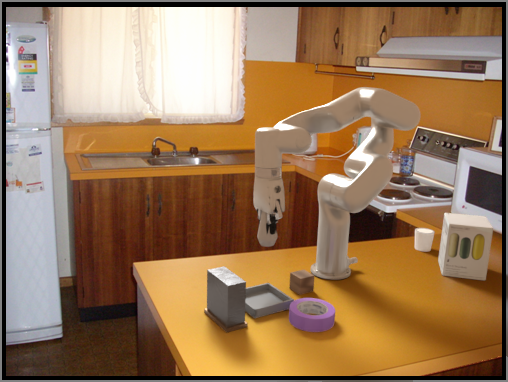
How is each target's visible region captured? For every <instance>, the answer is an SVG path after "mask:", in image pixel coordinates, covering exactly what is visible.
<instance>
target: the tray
mask: <svg viewBox="0 0 508 382" xmlns="http://www.w3.org/2000/svg"><path fill="white" fill-rule="evenodd" d="M294 300H295V299H294V298H292V297H291V296H289V295H288V294H287V293H285V292H284V291H282V290H281V289H279V288H278V287H276V286H274V285H273V284H272V283H270V282H265V283H261V284H258V285H253V286H248V287H246V300H245V313H247V314H248V315H249V316H251V317H252V318H253V319H257V318H261V317H265V316H269V315H272V314H276V313H279V312H282V311H286V310H287V311H288V310H289V308H290V304H291V303H292V302H293V301H294Z"/></svg>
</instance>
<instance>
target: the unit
mask: <svg viewBox="0 0 508 382" xmlns="http://www.w3.org/2000/svg"><path fill="white" fill-rule="evenodd" d="M206 274H207V275H206V285H207V286H206V308H204V309H203V311H204V313H205V314H206V315H207V316H208V317H209V318H210V319H211V320H213V322H214V323H216V325H217V326H218V327H220V328H221V329H222V330H223V331H224V332H225V333H230V332H234V331H237V330H241V329H244V328H247V327H248V324H249V323H248V322H247V320H246V311H245V300H246V288H247V281H246V280H244V279H243V278H241V277H240V276H239V275H237V274H236V273H235V272H233V271H232V270H230V269H229V268H227V267H226V266H220V267H215V268H209V269H206Z"/></svg>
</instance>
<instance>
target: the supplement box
mask: <svg viewBox="0 0 508 382" xmlns="http://www.w3.org/2000/svg"><path fill="white" fill-rule="evenodd" d="M441 229H442V230H441V234H440V235H441V237H440V242H439V243H440V244H439V251H438V258H437V259H438V260H437V262H438V265H439V268H440V273H441V275H442V276H443V277H444V276H445V277H450V278H458V279H459V278H460V279H461V278H462V279H468V280H477V281H487V273H488V268H489V267H488V266H489V260H490V253H491V245H492V241H493V233H494V227H493V225H492V224H491V222H490V221H489V219H488V217H487V216H486V215H477V214H475V215H474V214H473V215H472V214H466V213H453V212H451V213H450V212H444V214H443V221H442V227H441Z"/></svg>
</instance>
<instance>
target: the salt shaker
mask: <svg viewBox="0 0 508 382" xmlns="http://www.w3.org/2000/svg"><path fill="white" fill-rule="evenodd" d="M261 210H263V209H262V207H261ZM272 216H274V215H271V218H272ZM259 220H260V224H259V223H258V230H257V236H256V237H257V240H258V242H259V244H260V246H261V247H267V248H269V247H273V246H274V245H275V243H276V242H277V239H278V231H277V229H276V230H275V234H273V235H272V234H270V227H269V230H268V233H267V232H266V223H268V222H267V213H266V212H264V211H262V213H261V219H259Z"/></svg>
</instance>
